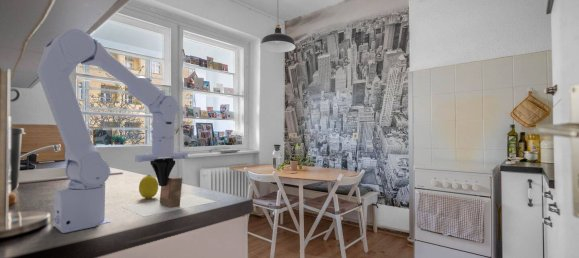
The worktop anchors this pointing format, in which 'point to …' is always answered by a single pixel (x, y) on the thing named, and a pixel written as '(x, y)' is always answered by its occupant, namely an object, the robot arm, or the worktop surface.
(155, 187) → the lemon
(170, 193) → the brown wooden block
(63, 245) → the worktop surface
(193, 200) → the mat
